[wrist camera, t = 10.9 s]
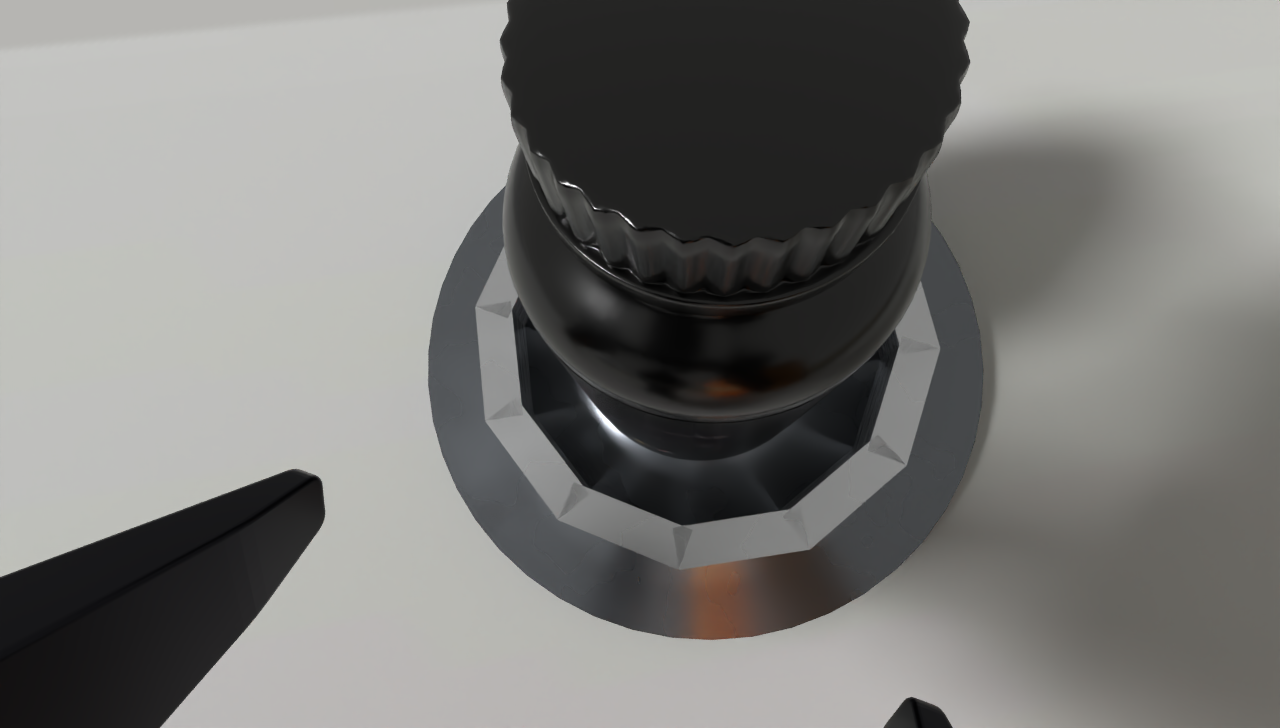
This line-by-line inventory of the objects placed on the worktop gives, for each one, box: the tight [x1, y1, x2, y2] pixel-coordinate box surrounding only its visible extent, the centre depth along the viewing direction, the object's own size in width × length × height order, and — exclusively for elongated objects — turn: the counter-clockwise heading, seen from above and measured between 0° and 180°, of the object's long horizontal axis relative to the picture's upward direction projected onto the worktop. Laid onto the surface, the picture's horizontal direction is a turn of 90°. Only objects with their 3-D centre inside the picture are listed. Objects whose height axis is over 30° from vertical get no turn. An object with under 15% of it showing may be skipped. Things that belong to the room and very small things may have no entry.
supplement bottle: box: [500, 0, 970, 461], centre depth 12 cm, size 7×7×12 cm
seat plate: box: [428, 186, 983, 640], centre depth 17 cm, size 16×16×4 cm
